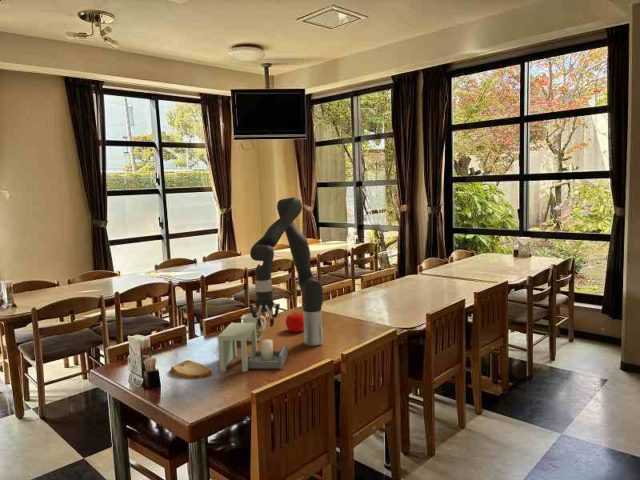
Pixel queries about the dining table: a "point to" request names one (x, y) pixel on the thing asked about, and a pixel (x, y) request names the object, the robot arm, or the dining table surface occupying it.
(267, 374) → the dining table surface
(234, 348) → the miniature white stool
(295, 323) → the tomato
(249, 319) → the pitcher
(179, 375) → the slice of bread
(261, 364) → the tray
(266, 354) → the cream rounded cylinder
